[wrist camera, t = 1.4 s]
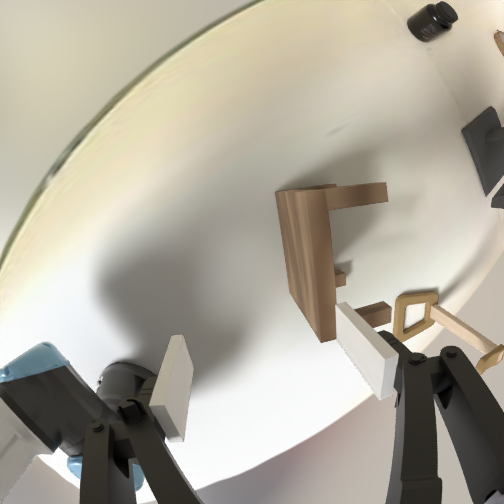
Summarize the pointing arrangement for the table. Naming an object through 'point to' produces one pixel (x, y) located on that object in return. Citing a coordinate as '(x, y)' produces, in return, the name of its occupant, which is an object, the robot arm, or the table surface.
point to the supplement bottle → (432, 21)
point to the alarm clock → (500, 40)
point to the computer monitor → (488, 152)
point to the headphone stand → (448, 321)
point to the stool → (322, 251)
